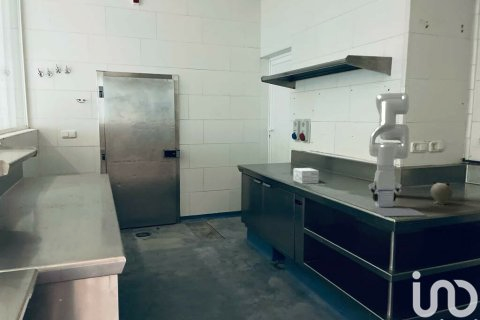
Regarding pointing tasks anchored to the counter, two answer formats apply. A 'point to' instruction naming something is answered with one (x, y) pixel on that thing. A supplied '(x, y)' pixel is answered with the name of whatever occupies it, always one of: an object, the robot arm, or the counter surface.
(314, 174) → the supplement box
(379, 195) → the medicine box
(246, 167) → the counter surface
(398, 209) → the rubber mat
